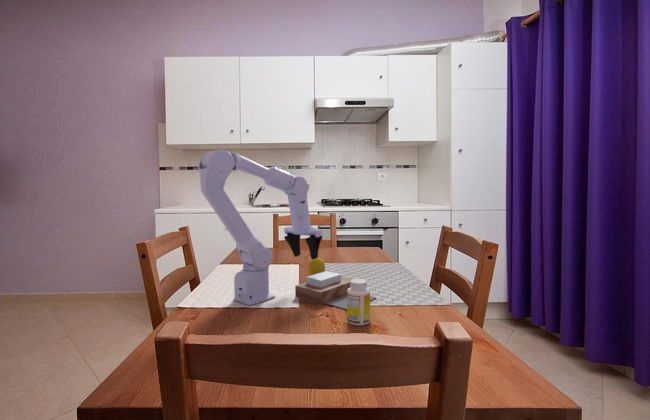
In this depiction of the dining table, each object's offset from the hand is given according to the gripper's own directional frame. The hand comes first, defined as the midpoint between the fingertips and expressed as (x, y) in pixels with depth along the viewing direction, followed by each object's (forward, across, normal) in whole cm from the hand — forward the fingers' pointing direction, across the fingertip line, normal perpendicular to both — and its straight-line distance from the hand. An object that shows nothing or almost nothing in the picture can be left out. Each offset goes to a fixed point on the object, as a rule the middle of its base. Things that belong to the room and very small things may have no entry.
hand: (305, 257), depth 118 cm
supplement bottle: (+9, -29, +13) cm, 33 cm away
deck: (+10, -9, +2) cm, 14 cm away
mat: (+10, -18, +2) cm, 21 cm away
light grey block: (+6, -8, +2) cm, 10 cm away
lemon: (+11, +4, -8) cm, 14 cm away
